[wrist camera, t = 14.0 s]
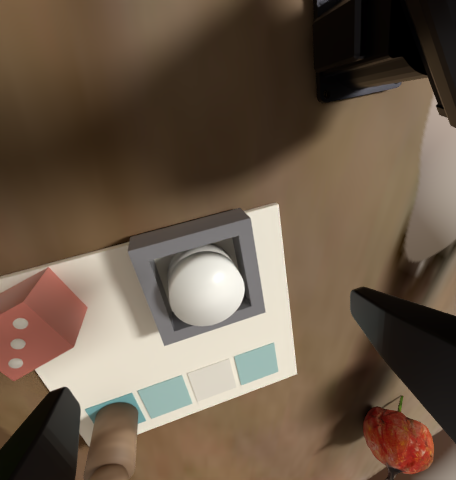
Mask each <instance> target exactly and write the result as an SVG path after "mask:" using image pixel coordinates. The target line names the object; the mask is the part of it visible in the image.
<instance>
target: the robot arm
mask: <svg viewBox="0 0 456 480" xmlns="http://www.w3.org/2000/svg"><path fill="white" fill-rule="evenodd" d="M313 6H314V23H313V48H314V69H315V70H316V83H317V99H318V101H319V102H321V103H328V102H332V101H337V100H342V99H346V98H351V97H356V96H360V95H365V94H370V93H374V92H379V91H384V90H388V89H393V88H397V87H399V86H400V85H401V83H402V82H404V81H410V80H416V79H421V78H427V77H428V79H429V81H430V84H431V87H432V89H433V92H434V95H435V97H436V100H437V102H438V104H437V105H436V107H437V110H438V112H439V115H441V116H444V117H447V118H448V120H449V122H450V125H451V126H453V127H455V128H456V0H313ZM325 91H326V92H327V97H326V98H324V92H325ZM350 310H351V314H352V316H353V317H354V319H355V320H356V322H357V323H358V324H359V326H360V327H361V329H362V330H363V332H364V333H365V334H366V336H367V337H368V339H369V340H370V342H371V343H372V344H373V346H374V347H375V349H376V350H377V351H378V353H379V354H380V355H381V357H382V358H383V359H384V360H385V362H386V363H387V364H388V365H389V366H390V368H391V369H392V370H393V371H394V372H395V373H396V375H397V376H398V377H399V378H400V379H401V380H402V382H403V383H404V384H405V385H406V386H407V387H408V389H409V390H410V391H411V392H412V393H413V394H414V396H415V397H416V398H417V399H418V400H419V401H420V403H421V404H422V405H423V406H424V407H425V408H426V410H427V411H428V412H429V413H430V414H431V415H432V417H433V418H434V419H435V420H436V421H437V422H438V424H439V425H440V426H441V427H442V428H443V429H444V431H445V432H446V433H447V434H448V435H449V436H450V437H451V439H452V440H453V441H454V442H455V443H456V316H454V315H451V314H448V313H444V312H441V311H438V310H435V309H432V308H429V307H426V306H423V305H419V304H416V303H413V302H410V301H407V300H404V299H401V298H398V297H395V296H391V295H388V294H385V293H382V292H379V291H376V290H373V289H370V288H367V287H360V288H357V289H354V290H352V291H351V293H350ZM80 416H81V408H80V404H79V402H78V401H77V399H76V398H75V397H74V395H73V394H72V392H71V391H70V389H69V388H67V387H61V388H58V389H55V390H52V391H51V392H49V393H48V394H47V395H46V396H45V398H44V399H43V400H42V401H41V402H40V403H39V405H38V406H37V407H36V408H35V409H34V410H33V412H32V413H31V414H30V415H29V416H28V418H27V419H26V420H25V421H24V422H23V423H22V425H21V426H20V427H19V428H18V429H17V430H16V432H15V433H14V434H13V435H12V436H11V437H10V439H9V440H8V441H7V442H6V443H5V444H4V446H3V447H2V448H1V449H0V480H75V475H76V467H77V456H78V443H79V430H80Z"/></svg>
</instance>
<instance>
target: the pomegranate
mask: <svg viewBox="0 0 456 480" xmlns="http://www.w3.org/2000/svg"><path fill="white" fill-rule="evenodd" d="M402 401H403V396H401V398H400V403H399V405H398V411H393V410H387V409H383V408H381V407H373V408H372V409H371V410H370V411H369V412H368V413H367V415H366V416H365V419H364V423H363V432H364V436H365V439H366V442H367V445H368V447H369V448H370V449H371V451H372V453H373V455H374V456H375V457H376V458H377V459H378V460H379V461H380V462H382V463H383V464H385V465H386V466H387V468H388V477H387V478H386V479H385V480H394V478H395V476H396V474H398V473H400V472H403V473H404V474H415V473H417V472H420V471H423V470H425V469H427V468H428V467H429V466H430V465H431V463H432V462H433V454H434V445H433V440H432V436H431V434H430V432H429V430H428V428H427V427H426V426H425V425H423V424H422V423H421V422H418V421H416V420H413V419H410V418H408V417H406V416H405V415H404V414H402V413H401V407H402Z"/></svg>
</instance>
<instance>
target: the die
mask: <svg viewBox="0 0 456 480" xmlns="http://www.w3.org/2000/svg"><path fill="white" fill-rule="evenodd" d="M87 308H88V307H87V306H86V305H85V304H84V303H83V302H82V301H81V300H80V299H79V298H78V297H77V296H76V295H75V294H74V293H73V292H72V291H71V290H70V289H69V288H68V287H67V286H66V284H65V283H64V282H63V281H62V280H61V279H60V278H59V277H58V276H57V275H56V274H55V273H54V272H53V271H52V270H51V269H50V268H49V267H47V268H46V269H44V270H42V271H40V272H38V273H37V274H35V275H33V276H31V277H29V278H27V279H26V280H24V281H22V282H20V283H18V284H17V285H15V286H13V287H11V288H9V289H7V290H6V291H4V292H2V293H0V372H2V373H3V374H4V375H6V376H7V377H9V378H10V379H11V380H13V381H15V380H17V379H19V378H21V377H22V376H24V375H26V374H28V373H29V372H31V371H33V370H35V369H36V368H38V367H40V366H42V365H44V364H45V363H47V362H49V361H51V360H52V359H54V358H56V357H58V356H59V355H61V354H63V353H65V352H67V351H68V350H70V349H72V348H74V346H75V343H76V340H77V337H78V334H79V331H80V329H81V326H82V323H83V320H84V317H85V314H86V311H87Z"/></svg>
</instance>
